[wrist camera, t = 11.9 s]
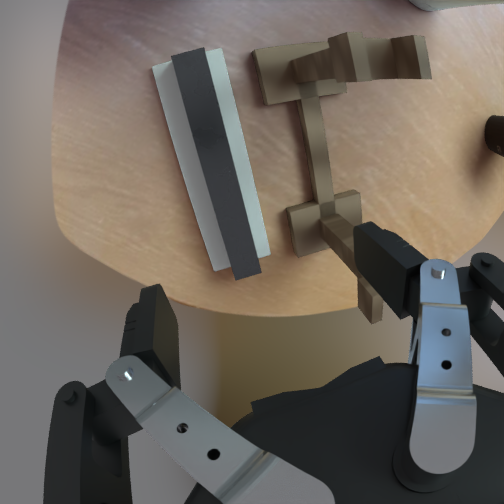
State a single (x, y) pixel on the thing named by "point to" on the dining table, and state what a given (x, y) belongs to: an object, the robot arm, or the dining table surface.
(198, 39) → the dining table surface
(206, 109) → the rail
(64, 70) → the dining table surface
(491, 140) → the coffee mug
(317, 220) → the hook stand
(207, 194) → the mat
